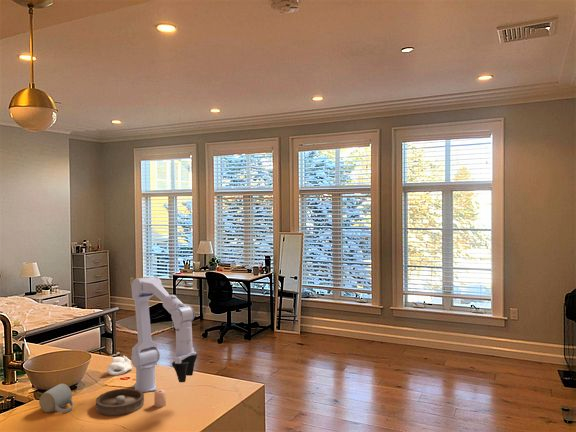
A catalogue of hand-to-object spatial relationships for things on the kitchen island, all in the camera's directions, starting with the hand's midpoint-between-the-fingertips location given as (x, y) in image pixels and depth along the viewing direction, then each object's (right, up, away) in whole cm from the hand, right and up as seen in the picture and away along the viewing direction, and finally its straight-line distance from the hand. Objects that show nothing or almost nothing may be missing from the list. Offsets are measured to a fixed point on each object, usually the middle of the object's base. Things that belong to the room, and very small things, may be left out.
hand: (185, 378), depth 160 cm
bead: (-10, -10, +1) cm, 14 cm away
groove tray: (-24, -10, 0) cm, 26 cm away
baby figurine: (-37, -10, +35) cm, 52 cm away
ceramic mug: (-44, -10, -3) cm, 46 cm away
